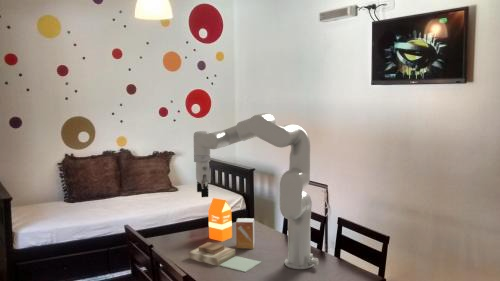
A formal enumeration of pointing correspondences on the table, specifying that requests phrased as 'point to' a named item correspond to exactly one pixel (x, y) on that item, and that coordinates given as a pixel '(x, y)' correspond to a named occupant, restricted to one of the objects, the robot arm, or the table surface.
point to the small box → (245, 233)
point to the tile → (211, 248)
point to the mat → (240, 263)
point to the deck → (212, 256)
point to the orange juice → (220, 220)
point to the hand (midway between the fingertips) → (202, 194)
